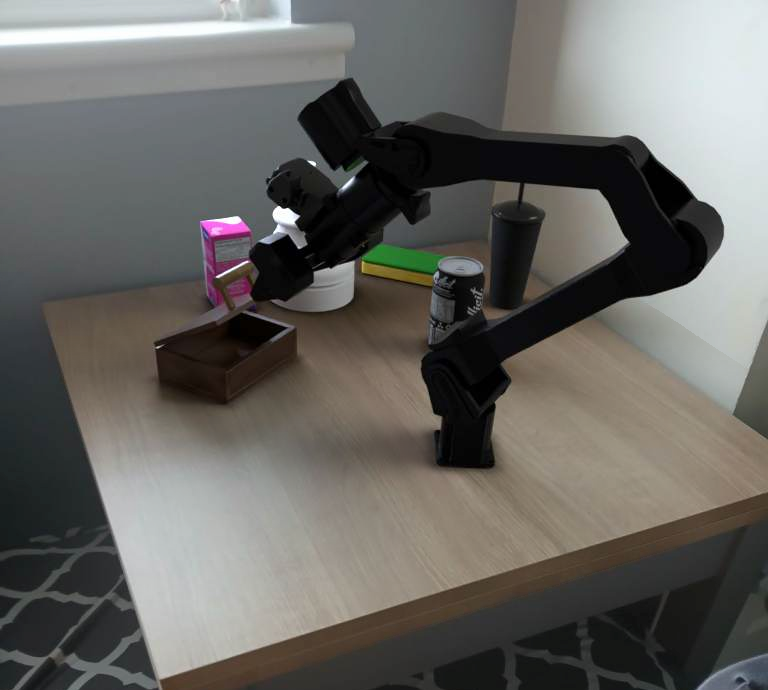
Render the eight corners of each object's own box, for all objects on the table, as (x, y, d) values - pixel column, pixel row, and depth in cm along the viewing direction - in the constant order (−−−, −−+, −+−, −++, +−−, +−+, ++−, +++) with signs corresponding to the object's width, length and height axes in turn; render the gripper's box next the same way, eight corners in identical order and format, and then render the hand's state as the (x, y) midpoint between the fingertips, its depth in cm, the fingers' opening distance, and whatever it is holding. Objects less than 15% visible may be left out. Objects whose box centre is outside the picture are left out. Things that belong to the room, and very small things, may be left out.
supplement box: (205, 298, 127) (198, 219, 120) (244, 292, 129) (240, 215, 122) (216, 315, 123) (211, 235, 116) (257, 309, 125) (254, 230, 118)
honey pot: (257, 279, 133) (252, 156, 122) (337, 271, 137) (340, 151, 126) (279, 316, 124) (277, 186, 113) (365, 306, 128) (371, 180, 116)
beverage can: (476, 341, 121) (486, 257, 113) (475, 364, 116) (486, 277, 108) (428, 337, 121) (436, 252, 114) (425, 359, 116) (433, 273, 108)
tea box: (297, 357, 115) (296, 326, 112) (227, 405, 105) (225, 373, 102) (232, 334, 119) (230, 305, 116) (158, 379, 108) (154, 347, 106)
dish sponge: (445, 290, 133) (447, 274, 132) (360, 273, 137) (361, 258, 135) (458, 273, 139) (460, 258, 137) (376, 257, 142) (377, 242, 141)
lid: (292, 282, 109) (276, 246, 107) (217, 326, 98) (198, 286, 97) (231, 304, 116) (215, 271, 114) (155, 347, 106) (136, 311, 104)
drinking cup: (474, 308, 129) (491, 168, 117) (485, 288, 135) (502, 152, 122) (526, 317, 127) (549, 176, 115) (534, 296, 133) (557, 160, 121)
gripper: (364, 119, 95) (282, 201, 106) (260, 160, 82) (179, 249, 93) (423, 208, 97) (337, 279, 108) (330, 262, 84) (243, 337, 95)
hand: (277, 283), depth 100 cm, fingers open, 9 cm apart
